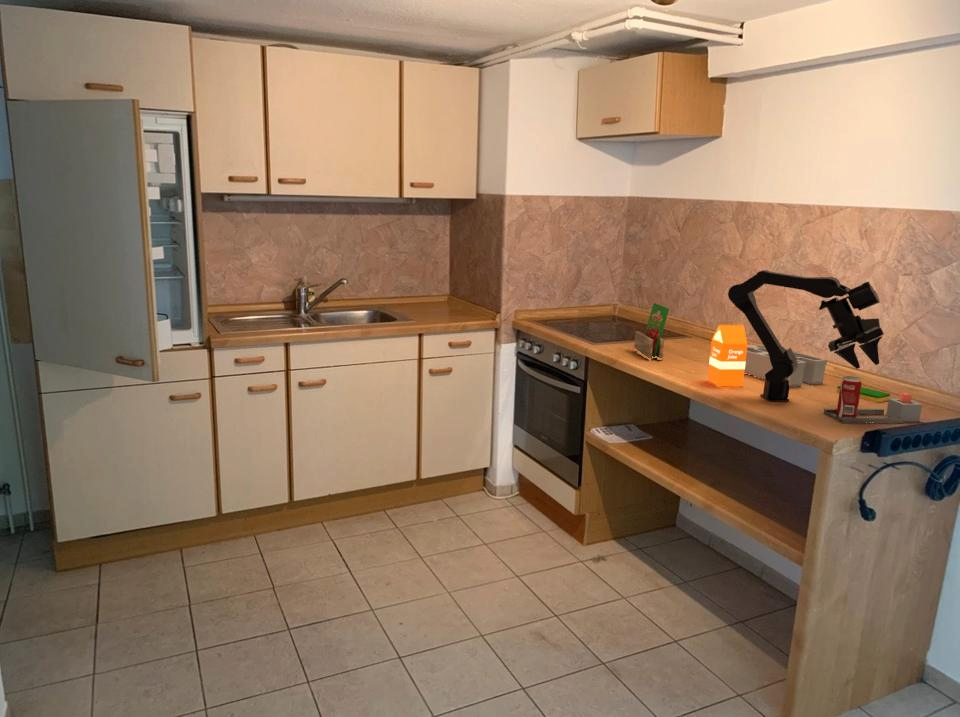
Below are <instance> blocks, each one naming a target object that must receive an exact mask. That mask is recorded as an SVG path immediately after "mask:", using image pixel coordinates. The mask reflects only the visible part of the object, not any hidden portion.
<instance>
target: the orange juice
mask: <svg viewBox="0 0 960 717" xmlns="http://www.w3.org/2000/svg"><path fill="white" fill-rule="evenodd" d="M710 344H711V345H710V355H709V360H708V362H709V363H708V365H709V366H708V373H707V381H708V380H709V381H710V382H712V383H714V384H716V385H717V386H743V385H744V379H745V378H744V377H745V374H744V370H745V363H746V354H747V345H749V344H748V340H747V336H746V331H745V327H744V324H718V327H717V329H716V330H715V332H714V335H713V337H712V338H711V343H710ZM710 382H709V383H710ZM717 386H716V387H717Z"/></svg>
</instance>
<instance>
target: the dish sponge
mask: <svg viewBox="0 0 960 717" xmlns="http://www.w3.org/2000/svg"><path fill="white" fill-rule="evenodd" d="M840 386H841V385H837V387H836V393H838V392H840ZM861 398H862V399H861ZM859 399H861V400H865V399H866V400H865V401H869V400H870V401H869V402H874V403H877V402H878V403H883V402H887V401H889V399H891V393H887V392H884V391H880V390H876V389H872V388H868V387H863V386H861V391H860V398H859Z"/></svg>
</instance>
